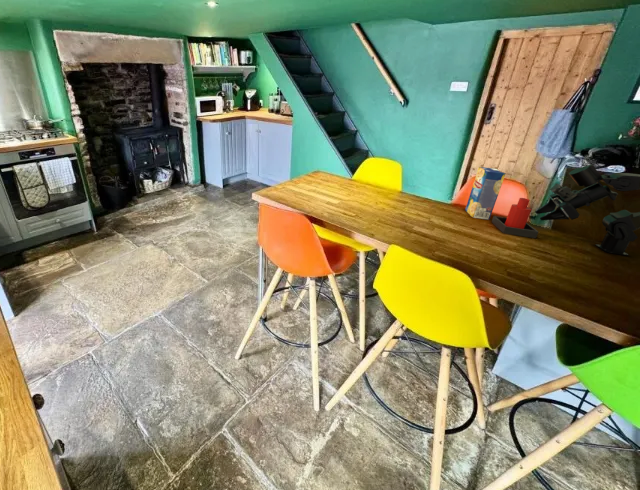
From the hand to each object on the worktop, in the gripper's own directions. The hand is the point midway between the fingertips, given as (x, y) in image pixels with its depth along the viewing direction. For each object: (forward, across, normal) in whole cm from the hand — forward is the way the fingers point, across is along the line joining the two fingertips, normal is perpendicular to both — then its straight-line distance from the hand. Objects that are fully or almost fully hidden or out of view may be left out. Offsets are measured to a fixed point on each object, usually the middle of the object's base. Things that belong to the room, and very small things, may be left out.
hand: (538, 216), depth 123 cm
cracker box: (+19, -12, -7) cm, 24 cm away
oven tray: (+10, 0, +1) cm, 10 cm away
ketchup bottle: (+10, 0, +1) cm, 10 cm away
